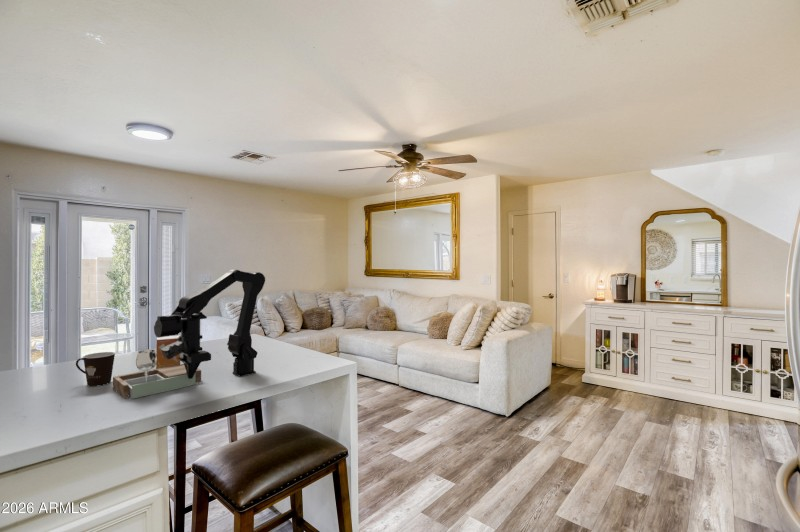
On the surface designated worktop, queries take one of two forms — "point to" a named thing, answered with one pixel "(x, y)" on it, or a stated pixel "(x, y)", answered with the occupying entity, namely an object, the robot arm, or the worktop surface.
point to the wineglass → (146, 360)
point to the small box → (161, 360)
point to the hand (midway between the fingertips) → (190, 378)
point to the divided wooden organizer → (164, 372)
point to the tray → (157, 384)
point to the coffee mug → (98, 367)
